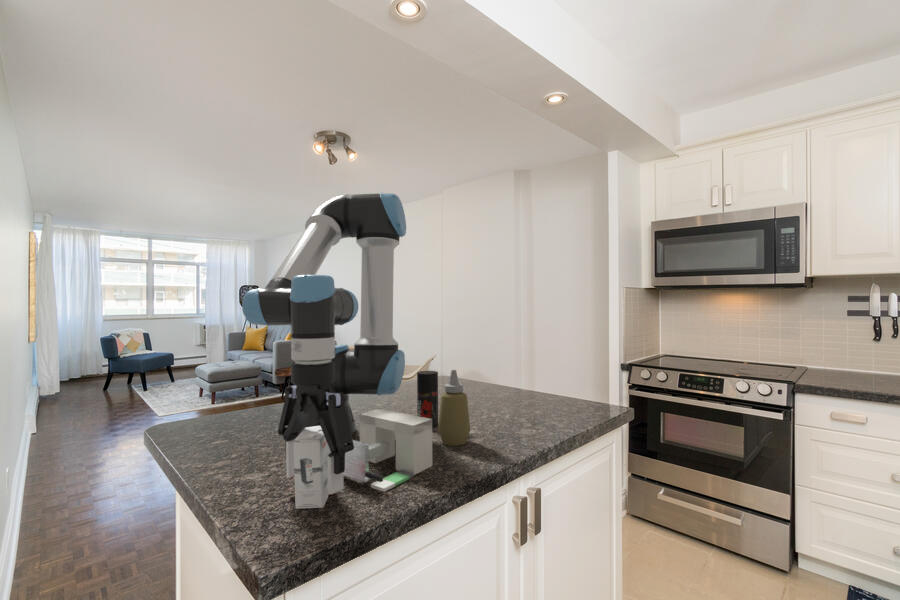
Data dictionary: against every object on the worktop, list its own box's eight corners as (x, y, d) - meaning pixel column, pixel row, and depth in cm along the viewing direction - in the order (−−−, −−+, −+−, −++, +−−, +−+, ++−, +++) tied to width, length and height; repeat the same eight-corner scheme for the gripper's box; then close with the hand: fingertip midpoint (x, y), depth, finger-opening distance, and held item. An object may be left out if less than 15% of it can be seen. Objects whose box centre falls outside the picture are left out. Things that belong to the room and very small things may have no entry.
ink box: (305, 488, 81) (305, 425, 81) (332, 487, 82) (332, 424, 82) (292, 510, 72) (292, 439, 73) (323, 509, 73) (322, 438, 73)
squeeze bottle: (467, 449, 102) (467, 373, 102) (434, 447, 104) (434, 372, 104) (472, 438, 110) (472, 368, 110) (442, 436, 111) (441, 367, 112)
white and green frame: (326, 471, 89) (326, 423, 89) (379, 450, 101) (379, 408, 101) (383, 491, 79) (383, 437, 79) (434, 466, 91) (433, 419, 91)
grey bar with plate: (337, 472, 86) (337, 438, 86) (372, 458, 94) (372, 426, 94) (379, 487, 79) (379, 449, 79) (413, 471, 87) (413, 436, 87)
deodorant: (442, 424, 123) (441, 371, 123) (430, 429, 118) (429, 374, 118) (425, 421, 126) (425, 370, 126) (413, 426, 121) (412, 373, 121)
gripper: (257, 358, 81) (258, 474, 81) (339, 369, 67) (340, 509, 67) (292, 354, 87) (293, 462, 87) (375, 363, 73) (375, 492, 73)
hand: (313, 482), depth 77 cm, fingers open, 11 cm apart
